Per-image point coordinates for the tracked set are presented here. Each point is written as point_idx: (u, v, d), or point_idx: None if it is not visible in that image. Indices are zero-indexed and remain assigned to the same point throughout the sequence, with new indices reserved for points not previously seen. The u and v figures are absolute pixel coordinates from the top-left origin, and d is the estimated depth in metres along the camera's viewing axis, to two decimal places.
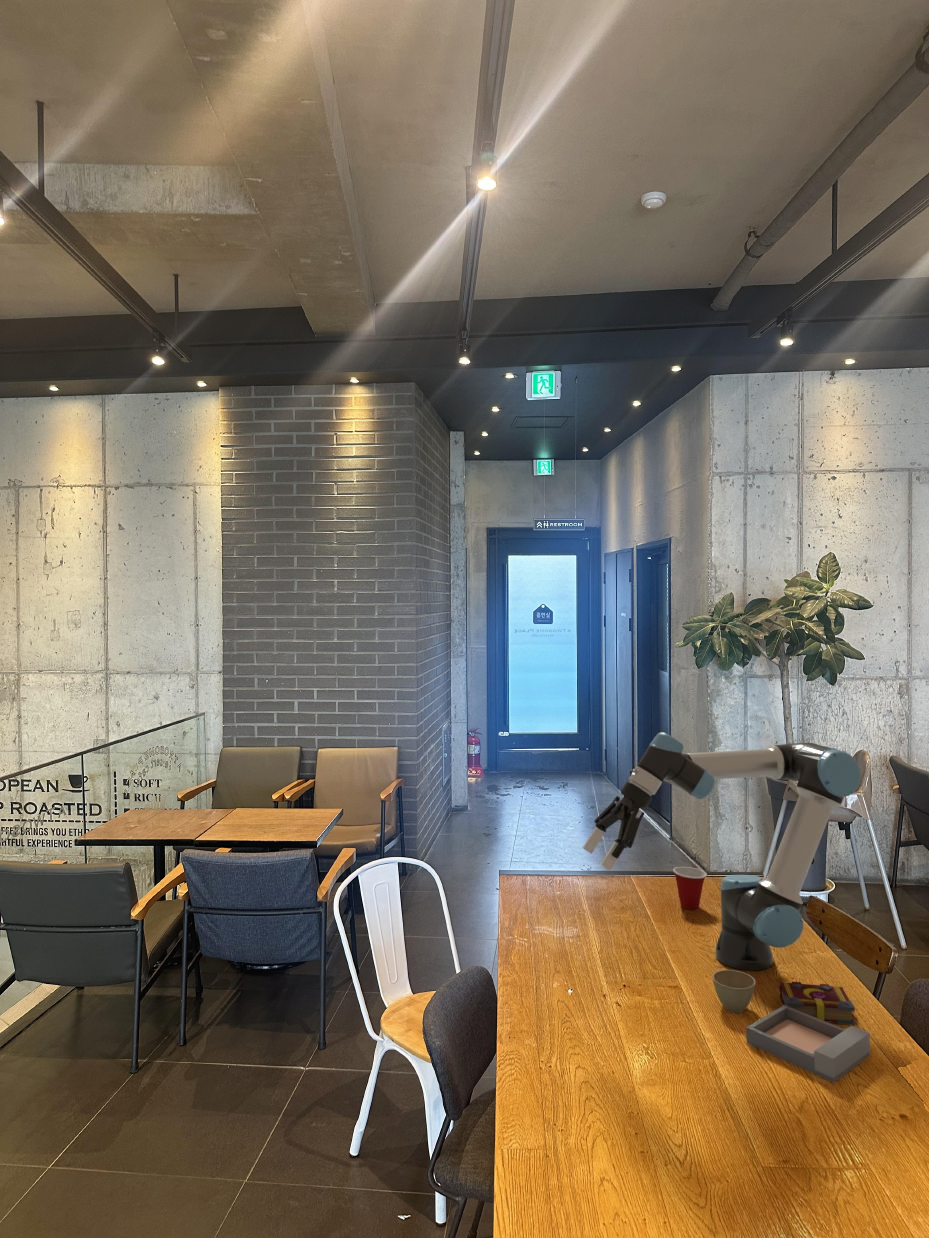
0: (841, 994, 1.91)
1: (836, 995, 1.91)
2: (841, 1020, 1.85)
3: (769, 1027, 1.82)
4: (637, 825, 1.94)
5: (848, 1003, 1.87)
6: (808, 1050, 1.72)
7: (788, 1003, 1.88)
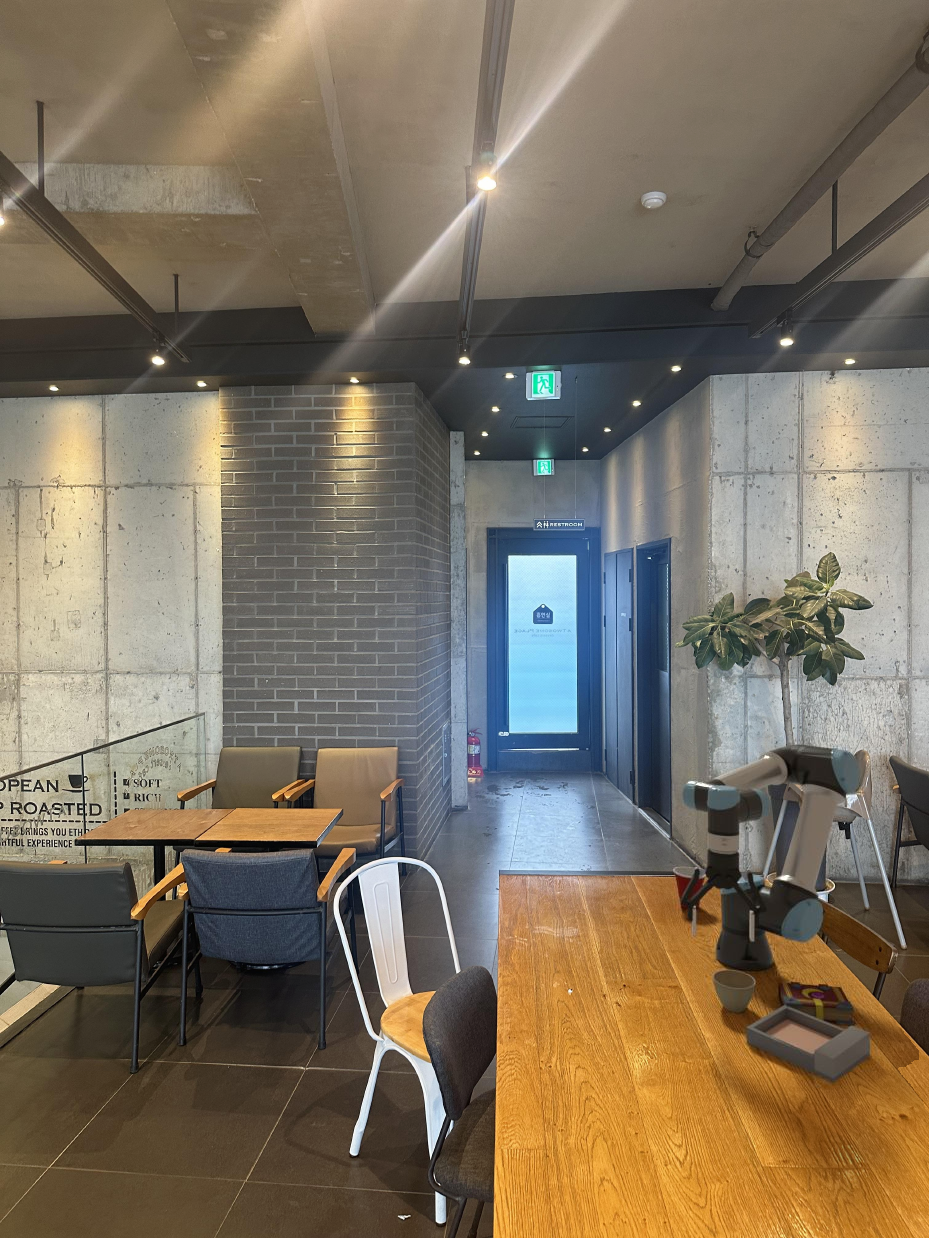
0: (840, 994, 1.91)
1: (835, 995, 1.91)
2: (840, 1020, 1.85)
3: (769, 1027, 1.82)
4: None
5: (847, 1003, 1.86)
6: (808, 1050, 1.72)
7: (787, 1003, 1.87)
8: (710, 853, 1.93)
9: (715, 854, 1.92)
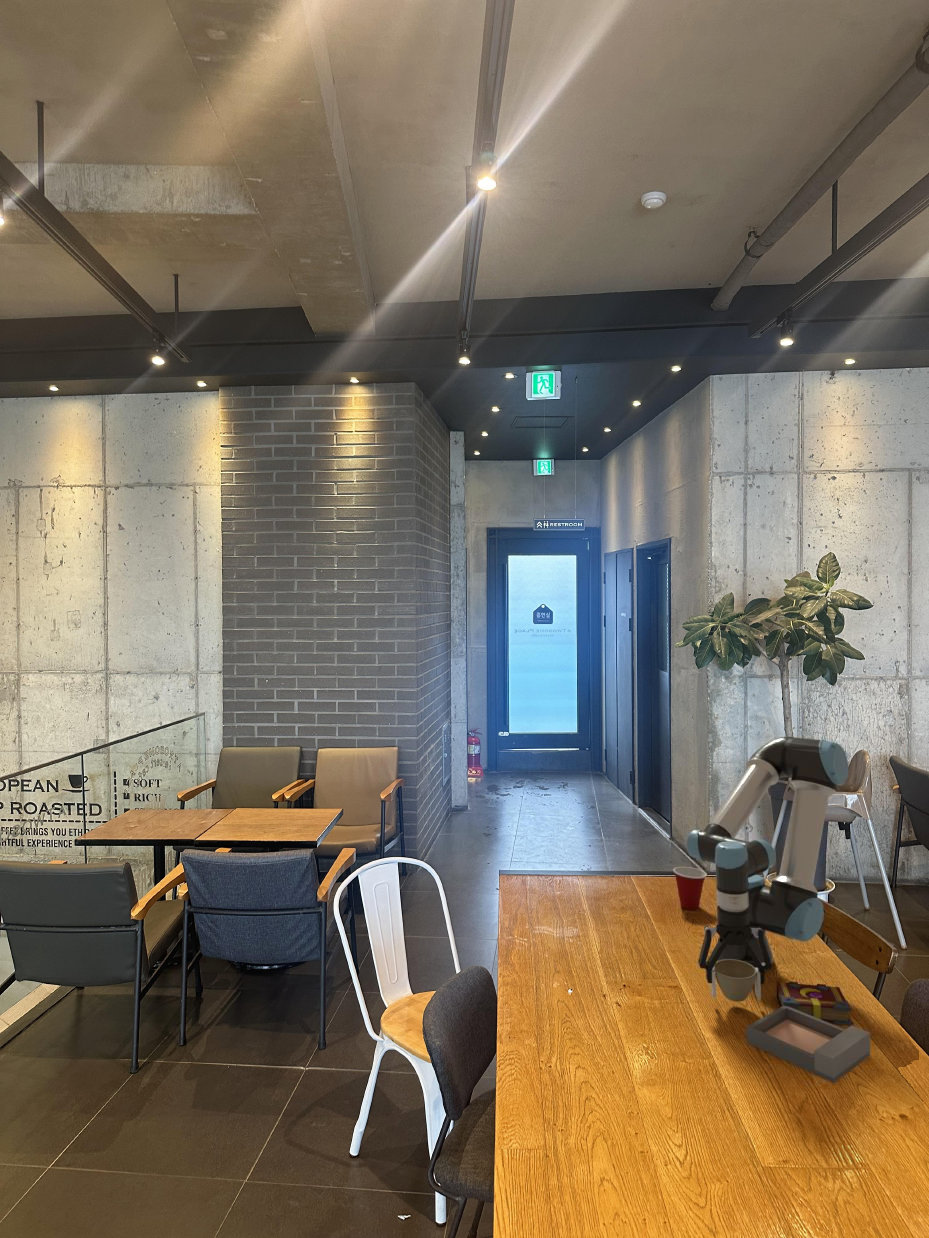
0: (838, 994, 1.91)
1: (832, 995, 1.91)
2: (837, 1020, 1.85)
3: (769, 1027, 1.82)
4: None
5: (844, 1003, 1.87)
6: (808, 1050, 1.72)
7: (784, 1003, 1.88)
8: (721, 911, 1.93)
9: (726, 913, 1.91)
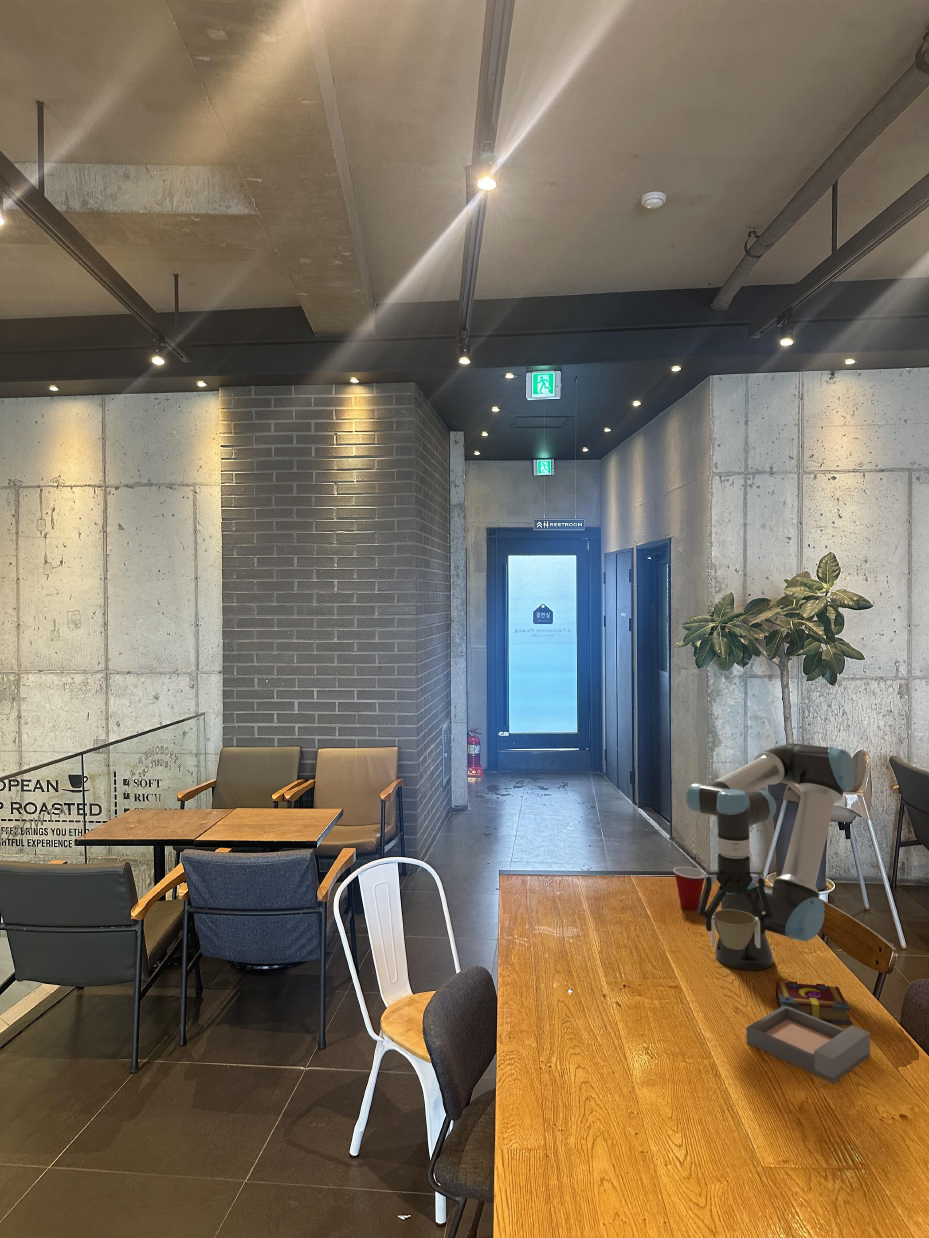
0: (837, 994, 1.91)
1: (831, 995, 1.91)
2: (836, 1020, 1.85)
3: (769, 1027, 1.82)
4: None
5: (843, 1003, 1.87)
6: (808, 1050, 1.72)
7: (783, 1002, 1.88)
8: (721, 858, 1.92)
9: (727, 859, 1.91)
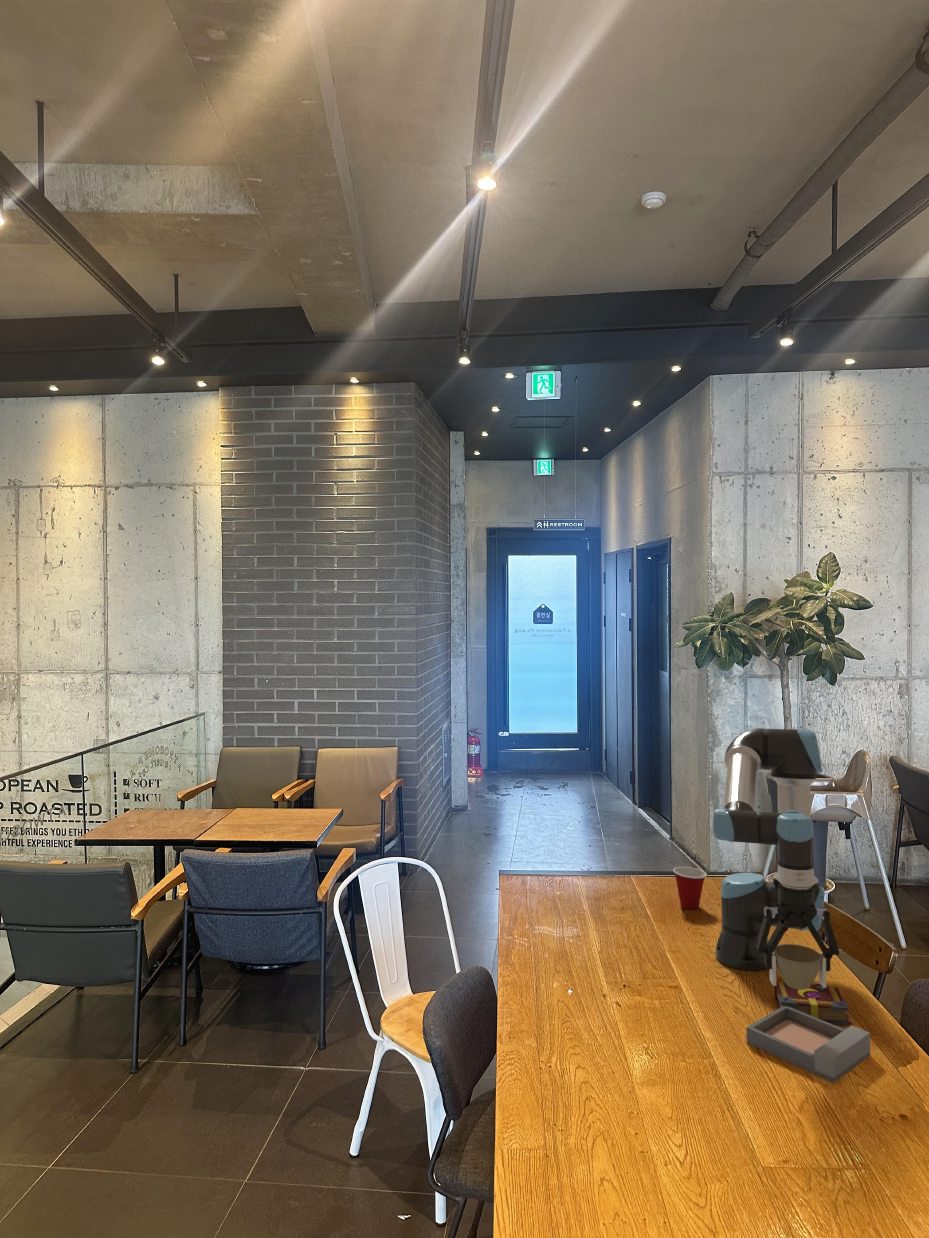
0: (836, 994, 1.91)
1: (830, 995, 1.91)
2: (835, 1020, 1.85)
3: (769, 1027, 1.82)
4: None
5: (842, 1003, 1.87)
6: (808, 1050, 1.72)
7: (782, 1003, 1.88)
8: (783, 889, 1.75)
9: (790, 890, 1.74)
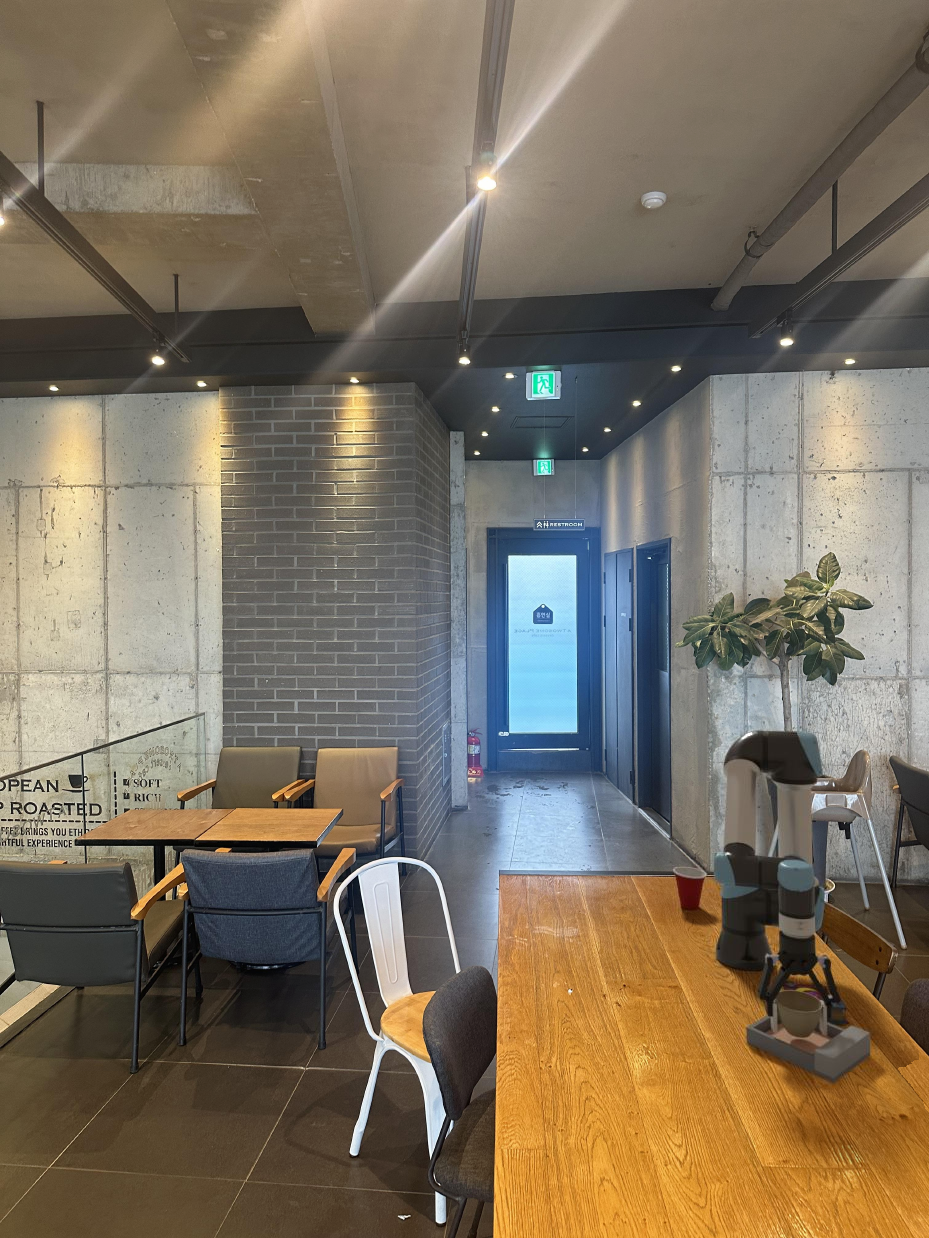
0: None
1: None
2: (833, 1020, 1.86)
3: (769, 1027, 1.82)
4: None
5: (840, 1003, 1.87)
6: (808, 1050, 1.72)
7: None
8: (784, 937, 1.75)
9: (791, 939, 1.74)
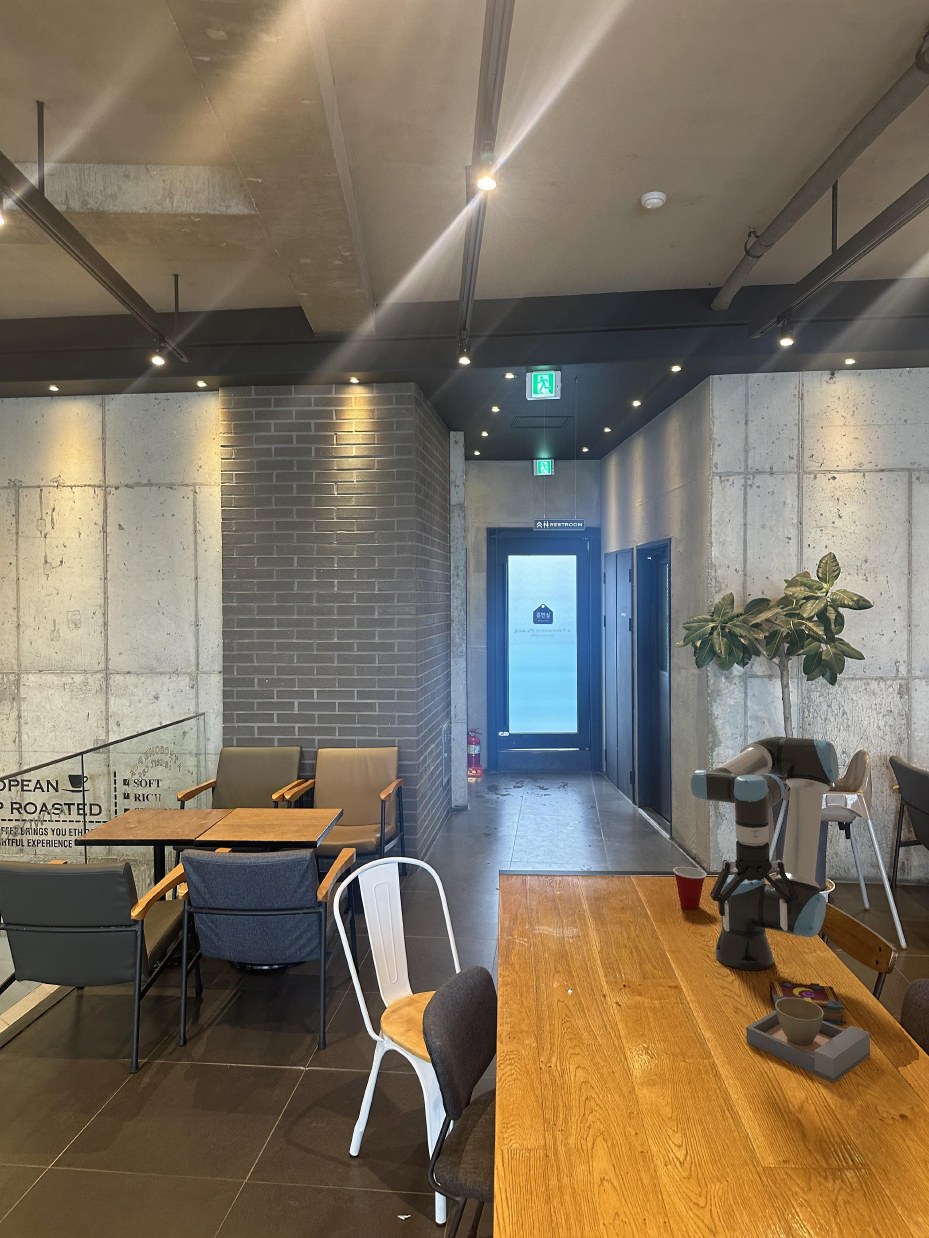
0: (831, 994, 1.92)
1: (825, 995, 1.91)
2: (830, 1019, 1.86)
3: (769, 1027, 1.82)
4: None
5: (837, 1002, 1.87)
6: (808, 1050, 1.72)
7: None
8: (741, 846, 1.87)
9: (747, 847, 1.86)
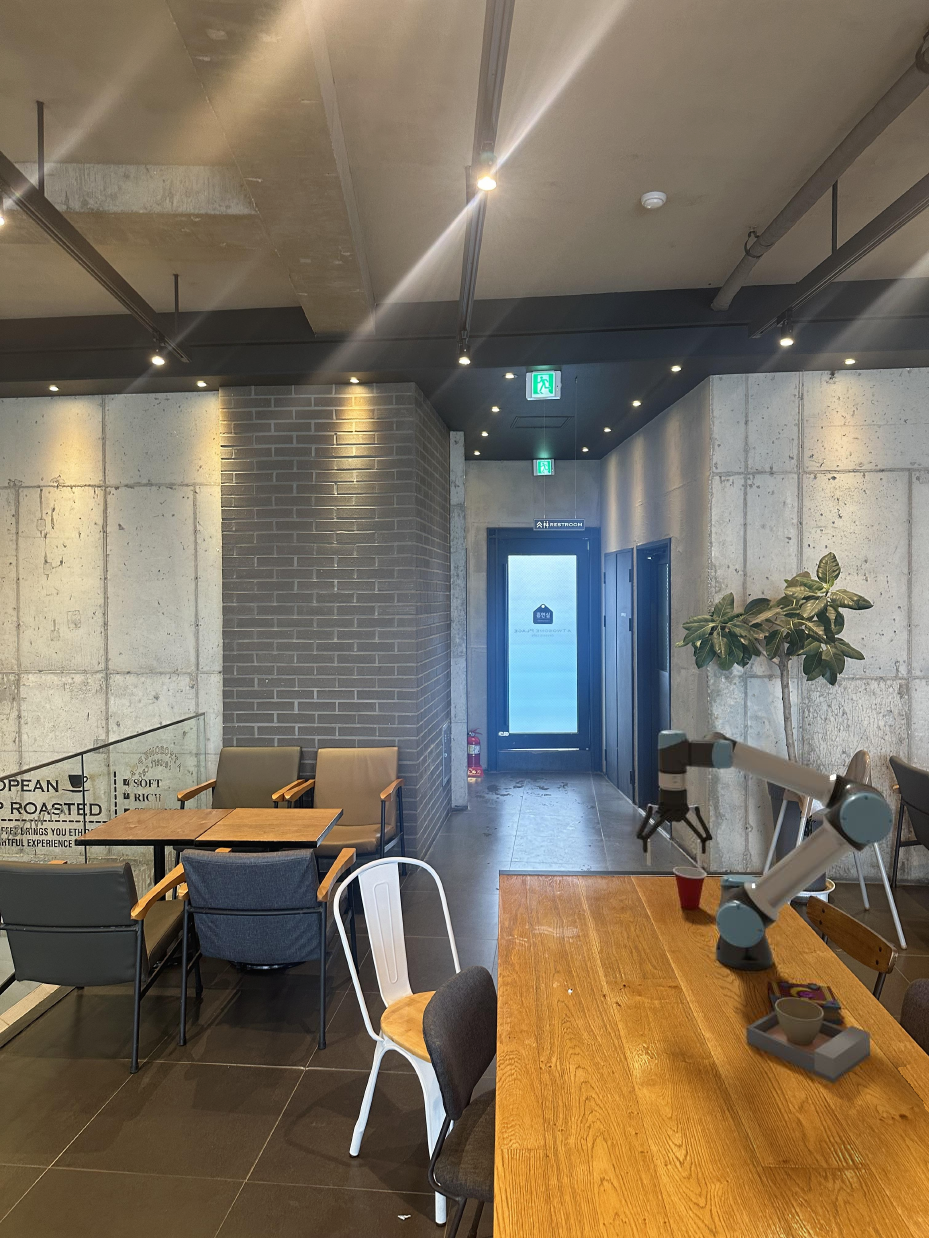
0: (828, 993, 1.92)
1: (823, 995, 1.91)
2: (827, 1019, 1.86)
3: (769, 1027, 1.82)
4: None
5: (835, 1002, 1.87)
6: (808, 1050, 1.72)
7: (775, 1002, 1.88)
8: (662, 791, 2.14)
9: (666, 791, 2.12)
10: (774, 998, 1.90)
